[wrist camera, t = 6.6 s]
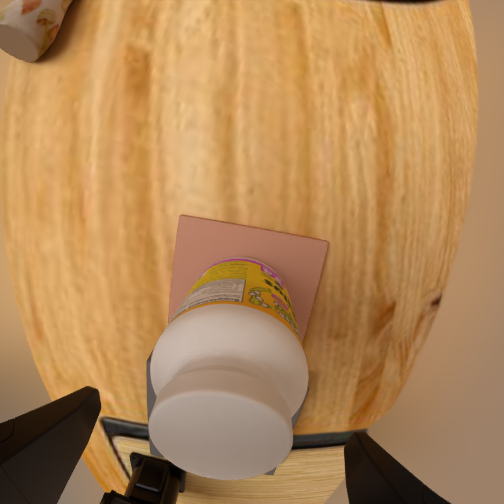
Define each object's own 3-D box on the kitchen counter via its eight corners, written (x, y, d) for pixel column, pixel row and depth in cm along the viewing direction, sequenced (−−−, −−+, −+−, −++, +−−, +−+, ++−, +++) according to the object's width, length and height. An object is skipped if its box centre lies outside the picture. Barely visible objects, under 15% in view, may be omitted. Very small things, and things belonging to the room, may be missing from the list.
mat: (294, 364, 22) (294, 368, 21) (168, 342, 22) (166, 346, 21) (326, 240, 20) (328, 242, 19) (181, 214, 20) (179, 215, 19)
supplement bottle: (296, 331, 21) (332, 479, 8) (209, 349, 21) (169, 494, 9) (276, 243, 19) (308, 341, 7) (181, 266, 20) (84, 374, 7)
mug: (113, -25, 15) (52, -35, 8) (77, 57, 21) (14, 81, 14) (60, -32, 13) (-4, -33, 5) (30, 45, 18) (-33, 68, 11)
